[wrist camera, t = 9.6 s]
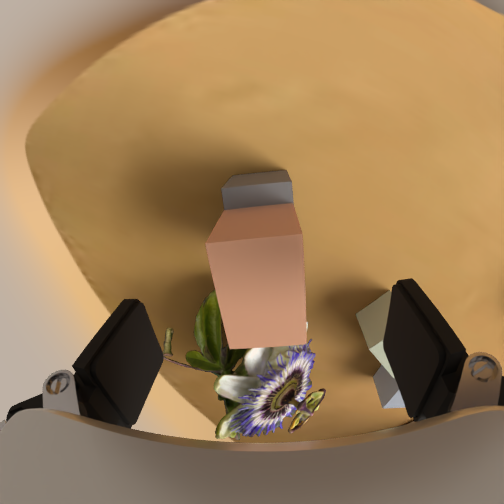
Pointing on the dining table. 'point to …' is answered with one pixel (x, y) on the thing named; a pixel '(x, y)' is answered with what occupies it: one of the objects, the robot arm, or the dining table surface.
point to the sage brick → (376, 327)
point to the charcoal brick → (257, 190)
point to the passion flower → (251, 378)
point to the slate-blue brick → (387, 389)
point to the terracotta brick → (259, 276)
